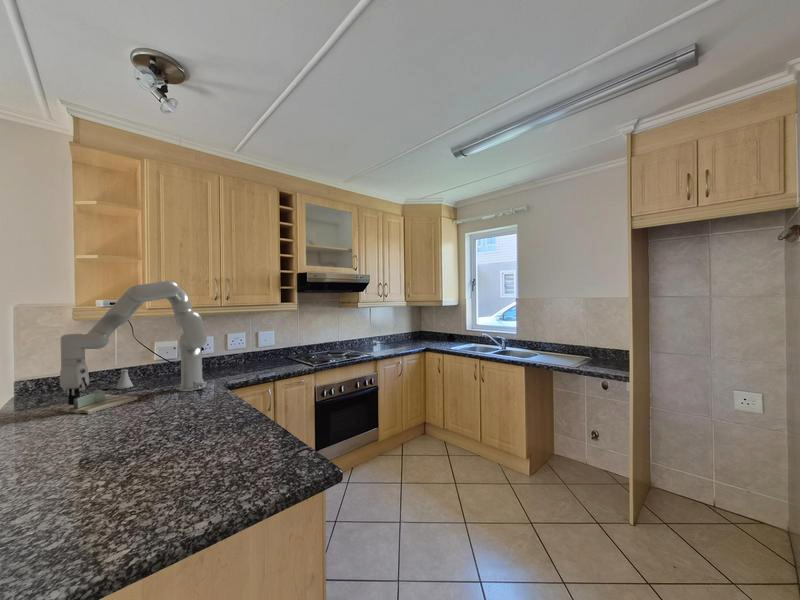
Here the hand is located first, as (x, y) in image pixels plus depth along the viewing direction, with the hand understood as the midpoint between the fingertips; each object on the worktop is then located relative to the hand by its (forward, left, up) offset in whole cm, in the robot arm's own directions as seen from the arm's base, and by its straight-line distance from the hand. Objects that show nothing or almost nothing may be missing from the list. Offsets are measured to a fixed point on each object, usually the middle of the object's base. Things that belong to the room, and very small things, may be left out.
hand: (74, 403), depth 142 cm
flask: (+19, -34, -3) cm, 39 cm away
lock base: (-2, -8, -3) cm, 9 cm away
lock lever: (-2, -4, -1) cm, 5 cm away
